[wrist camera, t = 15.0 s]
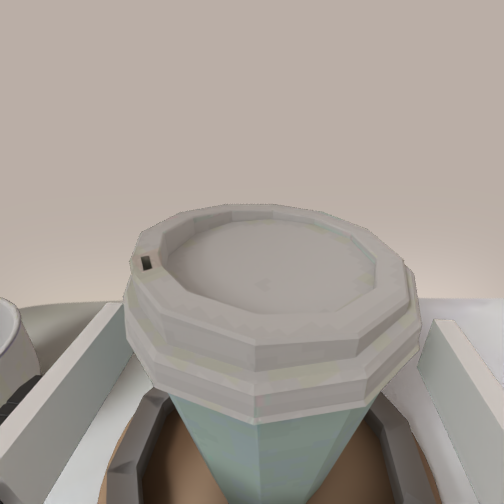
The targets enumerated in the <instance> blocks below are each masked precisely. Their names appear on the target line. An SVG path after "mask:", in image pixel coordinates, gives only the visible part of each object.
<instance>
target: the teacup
mask: <svg viewBox="0 0 504 504" xmlns="http://www.w3.org/2000/svg"><path fill="white" fill-rule="evenodd" d="M35 375H41V373H40V365H39V360H38V357H37V354H36V352H35V349H34V347H33V344H32V342H31V340H30V338H29V336H28V333H27V331H26V329H25V327H24V325H23V323H22V321H21V315H20V312H19V310H18V308H17V307H16V306H15V304H13V303H12V302H10V301H8V300H6V299H4V298H0V408H1V407H2V406H3V404H6V403H7V400H8V399H9V398H10V397H11V396H12V395H13V394H14V392H15V391H16V390H17V389H18V388H19V387H20V386H21V385H23V384H24V383H26V382H27V381H28V380H30V379H31V378H32V377H34V376H35Z"/></svg>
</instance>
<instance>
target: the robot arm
mask: <svg viewBox="0 0 504 504" xmlns="http://www.w3.org/2000/svg"><path fill="white" fill-rule="evenodd" d="M124 317H125V312H124V304H123V303H113V302H107V303H106V304H105V305H104V306H103V308H102V309H101V310H100V311H99V312H98V313H97V315H96V316H95V317H94V318H93V319H92V320H91V321H90V323H89V324H88V325H87V326H86V327H85V328H84V330H83V331H82V332H81V333H80V334H79V335H78V337H77V338H76V339H75V340H74V341H73V342H72V343H71V345H70V346H69V347H68V348H67V349H66V350H65V352H64V353H63V354H62V355H61V356H60V357H59V358H58V360H57V361H56V362H55V363H54V364H53V365H52V367H51V368H50V369H49V370H48V371H47V372H46V374H45V375H44V376H42V375H35V376H34V377H32V378H31V379H30V380H28V381H27V382H26V383H24V384H23V385H21V386H20V387H19V388H18V389H17V390H16V391H15V392H14V394H13V395H12V396H11V397H10V398H9V399H8V400H7V403H6V404H3V406H2V407H1V408H0V504H43V503H44V501H45V499H46V498H47V496H48V494H49V492H50V491H51V489H52V487H53V486H54V484H55V482H56V481H57V479H58V477H59V476H60V474H61V472H62V471H63V469H64V467H65V466H66V464H67V462H68V461H69V459H70V457H71V456H72V454H73V452H74V451H75V449H76V447H77V446H78V444H79V442H80V441H81V439H82V437H83V436H84V434H85V432H86V431H87V429H88V427H89V426H90V424H91V422H92V421H93V419H94V417H95V416H96V414H97V412H98V411H99V409H100V407H101V406H102V404H103V402H104V401H105V399H106V397H107V396H108V394H109V392H110V391H111V389H112V387H113V386H114V384H115V382H116V381H117V379H118V377H119V376H120V374H121V372H122V371H123V369H124V367H125V366H126V364H127V362H128V361H129V359H130V357H131V356H132V354H133V352H134V351H133V349H132V347H131V346H130V344H129V342H128V341H127V339H126V329H125V318H124ZM417 368H418V370H419V372H420V374H421V376H422V379H423V381H424V383H425V385H426V387H427V390H428V392H429V394H430V396H431V398H432V400H433V403H434V405H435V407H436V409H437V411H438V414H439V416H440V418H441V420H442V422H443V424H444V427H445V429H446V431H447V433H448V435H449V438H450V440H451V442H452V444H453V446H454V449H455V451H456V453H457V455H458V457H459V459H460V462H461V464H462V466H463V468H464V470H465V473H466V475H467V477H468V479H469V481H470V483H471V486H472V488H473V490H474V492H475V494H476V497H477V499H478V501H479V503H480V504H504V389H503V388H502V386H501V385H500V384H499V382H498V381H497V379H496V378H495V377H494V375H493V374H492V372H491V371H490V370H489V368H488V367H487V365H486V364H485V363H484V361H483V360H482V358H481V357H480V356H479V354H478V353H477V351H476V350H475V349H474V347H473V346H472V344H471V343H470V342H469V340H468V339H467V337H466V336H465V335H464V333H463V332H462V330H461V329H460V327H459V326H458V325H457V323H456V322H455V320H442V319H434V320H433V322H432V325H431V328H430V331H429V334H428V337H427V340H426V343H425V346H424V348H423V351H422V354H421V357H420V360H419V363H418V366H417Z"/></svg>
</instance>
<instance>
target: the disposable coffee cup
mask: <svg viewBox="0 0 504 504" xmlns="http://www.w3.org/2000/svg"><path fill="white" fill-rule="evenodd" d="M129 262H130V269H131V275H130V278H129V281H128V284H127V287H126V289H125V292H124V295H123V301H124V312H125V317H124V318H125V329H126V339H127V341H128V342H129V344H130V346H131V347H132V349H133V351H134V353H135V354H136V356H137V358H138V360H139V361H140V363H141V365H142V366H143V368H144V370H145V372H146V373H147V375H148V377H149V379H150V380H151V382H152V384H153V385H154V387H155V388H157V389H159V390H162V391H165V392H167V393H168V394H169V396H170V398H171V400H172V402H173V404H174V405H175V407H176V409H177V411H178V413H179V415H180V417H181V418H182V420H183V422H184V424H185V426H186V428H187V430H188V431H189V433H190V435H191V437H192V439H193V441H194V443H195V444H196V446H197V448H198V450H199V452H200V454H201V456H202V457H203V459H204V461H205V463H206V465H207V467H208V469H209V470H210V472H211V474H212V476H213V478H214V479H215V481H216V483H217V484H218V486H219V488H220V489H221V491H222V493H223V494H224V496H225V498H226V499H227V501H228V503H229V504H306V502H307V501H308V500H309V499H310V498H311V497H312V496H313V494H314V493H315V492H316V491H317V490H318V489H319V487H320V486H321V485H322V483H323V481H324V480H325V478H326V477H327V475H328V473H329V472H330V470H331V469H332V467H333V466H334V464H335V462H336V461H337V459H338V458H339V456H340V454H341V453H342V451H343V450H344V448H345V446H346V445H347V443H348V442H349V440H350V439H351V437H352V435H353V434H354V432H355V431H356V429H357V427H358V426H359V424H360V423H361V421H362V420H363V418H364V416H365V415H366V413H367V412H368V410H369V408H370V407H371V405H372V404H373V402H374V400H375V399H376V397H377V396H378V394H379V393H380V391H381V390H382V389H383V388H384V387H385V386H386V384H387V383H388V382H389V381H390V380H391V379H392V378H393V377H394V376H395V375H396V374H397V373H398V372H399V371H400V370H401V369H402V367H403V366H404V365H405V364H406V363H407V362H408V361H409V360H410V359H411V358H412V357H413V356H414V355H415V354H416V353H417V351H418V350H419V349H420V348H419V341H418V339H419V335H420V331H421V327H422V322H421V316H420V309H419V303H418V296H417V290H416V283H415V277H414V273H413V272H412V271H411V270H410V269H409V268H408V267H407V266H406V265H405V264H404V260H403V259H402V258H401V257H400V256H399V255H398V254H397V253H395V252H394V251H393V250H392V249H391V248H389V247H388V246H387V245H386V244H384V243H383V242H382V241H381V240H380V239H379V238H378V237H376V236H375V235H374V234H373V233H372V232H370V231H369V230H368V229H366V228H363V227H361V226H358V225H355V224H353V223H350V222H348V221H345V220H342V219H339V218H337V217H334V216H332V215H329V214H326V213H324V212H320V211H313V210H308V209H301V208H295V207H289V206H282V205H276V204H224V205H219V206H213V207H208V208H202V209H197V210H191V211H186V212H181V213H178V214H176V215H174V216H172V217H170V218H168V219H166V220H164V221H162V222H160V223H158V224H156V225H154V226H152V227H150V228H149V229H146V230H144V231H142V232H141V233H140V236H139V238H138V241H137V243H136V246H135V249H134V251H133V253H132V256H131V259H130V261H129Z"/></svg>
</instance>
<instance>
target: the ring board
mask: <svg viewBox="0 0 504 504" xmlns="http://www.w3.org/2000/svg"><path fill="white" fill-rule="evenodd" d="M97 504H229V503H228V501H227V499H226V498H225V496H224V494H223V493H222V491H221V489H220V488H219V486H218V484H217V483H216V481H215V479H214V478H213V476H212V474H211V472H210V470H209V469H208V467H207V465H206V463H205V461H204V459H203V457H202V456H201V454H200V452H199V450H198V448H197V446H196V444H195V443H194V441H193V439H192V437H191V435H190V433H189V431H188V430H187V428H186V426H185V424H184V422H183V420H182V418H181V417H180V415H179V413H178V411H177V409H176V407H175V405H174V404H173V402H172V400H171V398H170V396H169V394H168V393H167V392H165V391H162V390H159V389H157V388H155V387H153V388H152V389H151V390H150V391H148V392H147V393H146V394H145V395H144V396H143V398H142V400H141V402H140V404H139V406H138V408H137V410H136V412H135V414H134V415H133V417H132V418H131V420H130V421H129V423H128V424H127V426H126V428H125V430H124V431H123V433H122V435H121V437H120V439H119V440H118V442H117V445H116V447H115V449H114V452H113V454H112V456H111V458H110V461H109V463H108V466H107V469H106V473H105V476H104V479H103V482H102V485H101V489H100V494H99V498H98V503H97ZM306 504H442V502H441V499H440V496H439V493H438V489H437V486H436V483H435V480H434V477H433V474H432V472H431V470H430V467H429V465H428V463H427V460H426V458H425V456H424V453H423V452H422V450H421V448H420V446H419V444H418V442H417V441H416V439H415V437H414V435H413V433H412V432H411V429H410V426H409V423H408V421H407V420H406V419H405V418H404V416H403V415H402V414H401V413H400V412H399V411H398V410H397V409H396V408H395V407H394V405H393V404H392V403H391V402H390V401H389V400H388V399H387V398H386V397H385V396H384V395H383V393H382V392H381V391H380V393H379V394H378V396H377V397H376V399H375V400H374V402H373V404H372V405H371V407H370V408H369V410H368V412H367V413H366V415H365V416H364V418H363V420H362V421H361V423H360V424H359V426H358V427H357V429H356V431H355V432H354V434H353V435H352V437H351V439H350V440H349V442H348V443H347V445H346V446H345V448H344V450H343V451H342V453H341V454H340V456H339V458H338V459H337V461H336V462H335V464H334V466H333V467H332V469H331V470H330V472H329V473H328V475H327V477H326V478H325V480H324V481H323V483H322V485H321V486H320V487H319V489H318V490H317V491H316V492H315V493H314V494H313V496H312V497H311V498H310V499H309V500H308V501H307V502H306Z"/></svg>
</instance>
